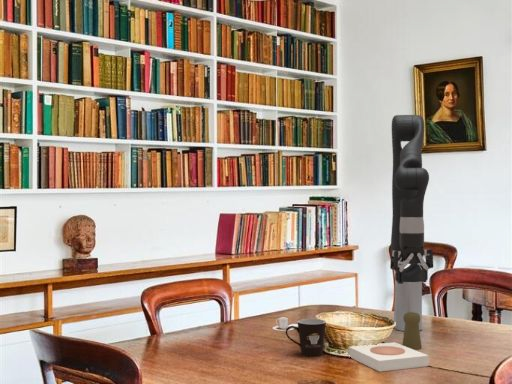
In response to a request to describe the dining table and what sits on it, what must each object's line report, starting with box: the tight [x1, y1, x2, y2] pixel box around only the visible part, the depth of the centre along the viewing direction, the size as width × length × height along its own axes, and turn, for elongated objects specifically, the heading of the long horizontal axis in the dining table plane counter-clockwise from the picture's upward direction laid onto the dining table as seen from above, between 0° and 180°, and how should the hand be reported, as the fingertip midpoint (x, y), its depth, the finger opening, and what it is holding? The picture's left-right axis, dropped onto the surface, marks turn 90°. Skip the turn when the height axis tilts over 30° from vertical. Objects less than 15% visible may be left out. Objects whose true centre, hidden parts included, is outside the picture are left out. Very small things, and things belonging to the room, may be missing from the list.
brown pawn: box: [402, 312, 423, 351], centre depth 230 cm, size 6×6×11 cm
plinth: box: [348, 341, 430, 373], centre depth 213 cm, size 18×16×3 cm
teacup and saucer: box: [272, 316, 298, 332], centre depth 260 cm, size 9×8×4 cm
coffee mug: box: [285, 318, 327, 358], centre depth 223 cm, size 12×9×10 cm
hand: (412, 282), depth 230 cm, fingers open, 8 cm apart
